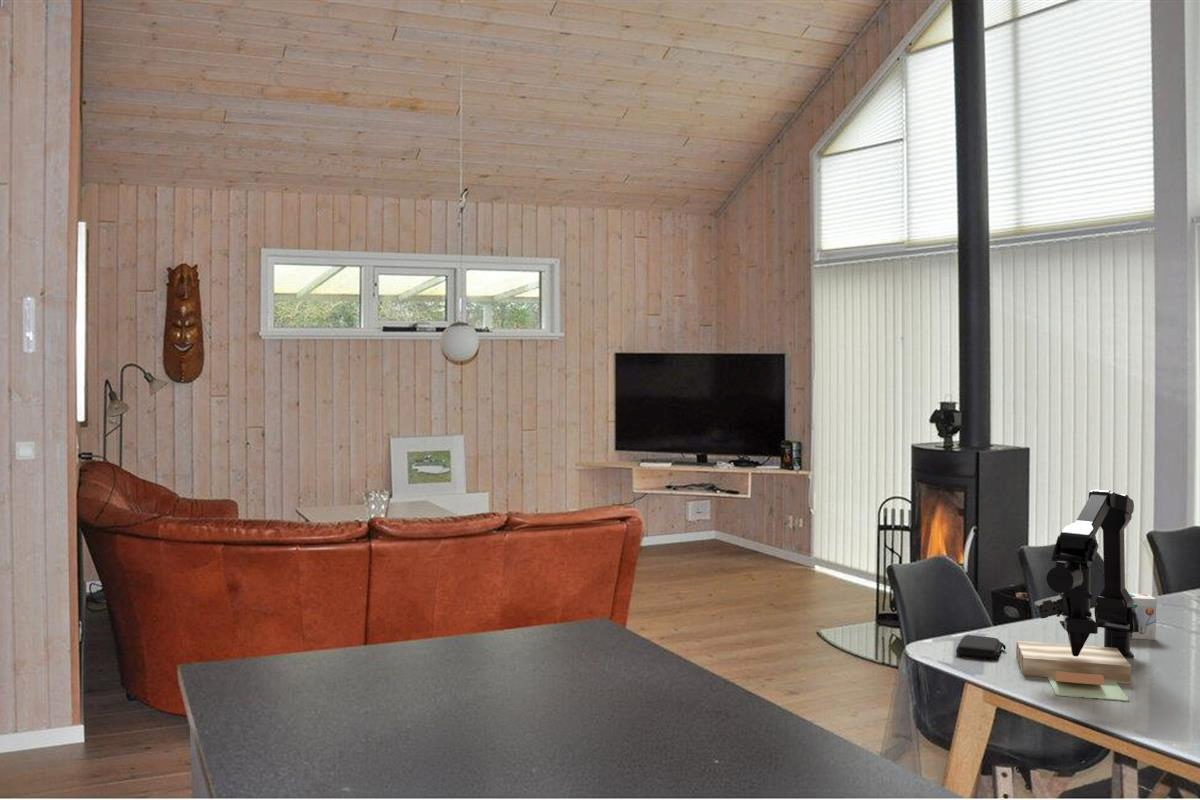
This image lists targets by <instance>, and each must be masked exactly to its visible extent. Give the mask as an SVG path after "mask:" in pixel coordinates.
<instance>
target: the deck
mask: <svg viewBox="0 0 1200 800" xmlns="http://www.w3.org/2000/svg"><path fill="white" fill-rule="evenodd" d="M1015 657H1016V660H1017V662H1018V665H1019V668H1020V670H1021V673H1022V675H1023V676H1027V677H1041V678H1047V676H1055V671H1057V672H1069V673H1081V674H1093V675H1103V676H1104V681H1116V682H1117V684H1125V685H1132V684H1131V683H1132V665H1131V664H1130V663H1129V661H1128V660H1127V658H1126V657H1124V656H1123V655H1122V654H1121V653H1120V651H1119V650H1118V649H1117V648H1109V647H1104V646H1094V645H1084V646H1083V648H1082V650H1081V652H1080V654H1079V655H1078V656H1073V655H1072V651H1071V647H1070V644H1069V643H1068V644H1066V643H1065V644H1063V643H1053V642H1038V641H1024V640H1016V655H1015Z"/></svg>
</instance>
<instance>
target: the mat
mask: <svg viewBox="0 0 1200 800" xmlns="http://www.w3.org/2000/svg"><path fill="white" fill-rule="evenodd" d="M1046 678H1047V679H1048V681H1049V684H1050V686H1051V687H1052V690H1053V692H1054V694H1055V696H1060V697H1070V698H1081V697H1084V699H1092V698H1098V699H1097V700H1104V699H1106V701H1118V702H1126V703H1127V702H1130V700H1129V698H1128V697H1127V695H1126V694H1125V693H1124V691H1123V689H1122V688H1121V686H1119V683H1117V682H1116V681H1104V685H1095V684H1083V683H1072V682H1061V681H1055V676H1047V677H1046Z"/></svg>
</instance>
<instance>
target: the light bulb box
mask: <svg viewBox="0 0 1200 800" xmlns="http://www.w3.org/2000/svg"><path fill="white" fill-rule="evenodd" d="M1128 593H1129V594H1130V596H1131V597H1132V599H1133V608H1135V611H1136V614H1137V616H1138V619H1139V632H1134V633H1130V639H1134V640H1136V639H1137V640H1156V637H1157V636H1156V635H1157V634H1156V631H1157V601H1158V600H1157V598H1155V597H1153V596H1152V595H1151V594H1149V593H1132V592H1131V593H1130V592H1128ZM1128 626H1130V625H1128Z"/></svg>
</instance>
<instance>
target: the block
mask: <svg viewBox="0 0 1200 800" xmlns="http://www.w3.org/2000/svg"><path fill="white" fill-rule="evenodd" d="M1055 681H1061V682H1072V683H1083V684H1095V685H1104V676H1103V675H1093V674H1081V673H1069V672H1057V671H1055Z"/></svg>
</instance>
